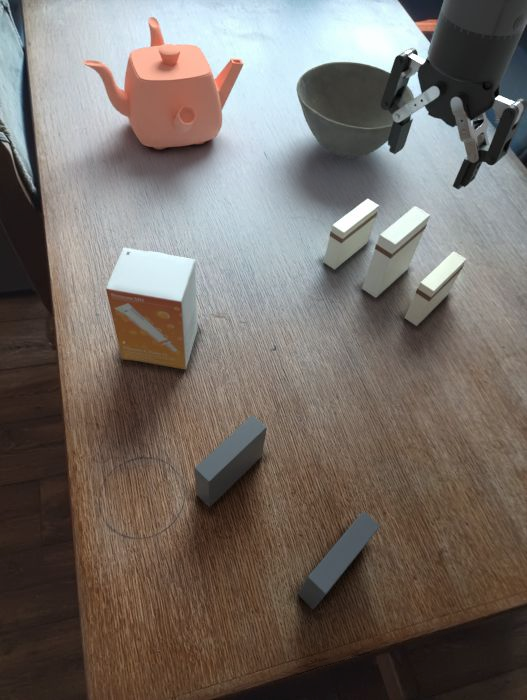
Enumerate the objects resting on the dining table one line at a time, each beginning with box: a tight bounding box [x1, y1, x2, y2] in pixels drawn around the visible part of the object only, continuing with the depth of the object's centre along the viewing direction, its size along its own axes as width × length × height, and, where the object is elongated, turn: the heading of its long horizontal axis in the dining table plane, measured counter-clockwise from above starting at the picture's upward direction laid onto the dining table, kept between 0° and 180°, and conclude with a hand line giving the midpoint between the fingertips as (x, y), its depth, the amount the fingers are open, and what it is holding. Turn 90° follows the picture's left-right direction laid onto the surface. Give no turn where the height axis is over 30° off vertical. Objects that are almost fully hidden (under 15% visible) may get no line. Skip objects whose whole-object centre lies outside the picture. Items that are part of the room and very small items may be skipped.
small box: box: [105, 247, 198, 370], centre depth 62 cm, size 8×6×13 cm
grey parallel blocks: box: [194, 414, 381, 610], centre depth 53 cm, size 16×8×7 cm, turn 47°
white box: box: [361, 205, 431, 299], centre depth 72 cm, size 2×8×10 cm, turn 137°
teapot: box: [82, 16, 244, 150], centre depth 87 cm, size 18×18×14 cm
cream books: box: [323, 198, 467, 327], centre depth 74 cm, size 16×8×7 cm, turn 47°
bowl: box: [296, 61, 415, 159], centre depth 90 cm, size 19×19×10 cm
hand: (426, 167), depth 61 cm, fingers open, 8 cm apart
